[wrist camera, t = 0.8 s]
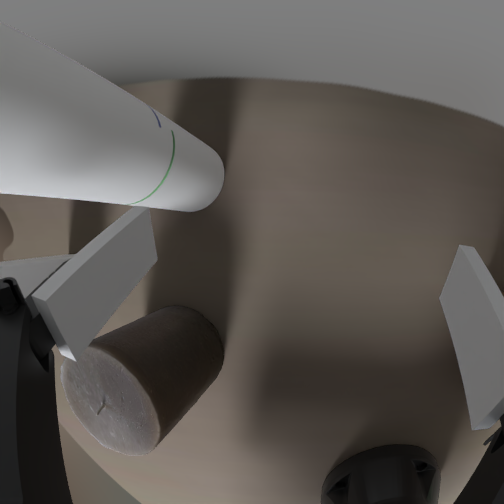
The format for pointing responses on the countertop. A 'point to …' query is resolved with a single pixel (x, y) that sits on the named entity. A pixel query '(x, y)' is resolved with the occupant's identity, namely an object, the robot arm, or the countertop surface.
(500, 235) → the countertop surface
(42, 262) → the milk
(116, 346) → the pillar candle
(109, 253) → the robot arm
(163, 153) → the cylindrical container
